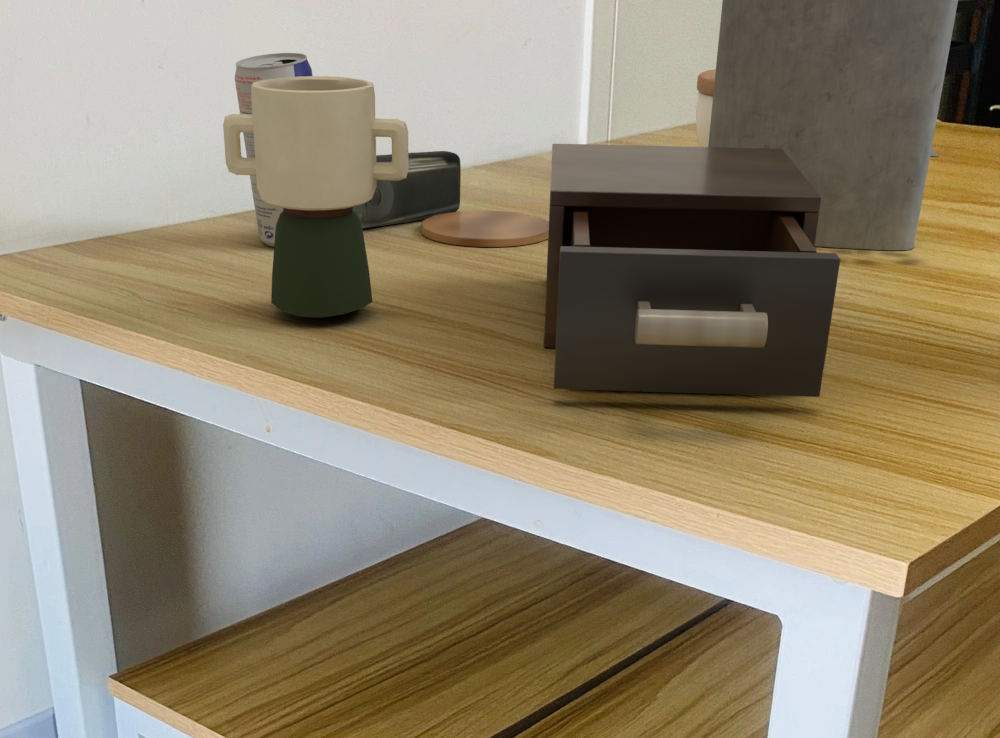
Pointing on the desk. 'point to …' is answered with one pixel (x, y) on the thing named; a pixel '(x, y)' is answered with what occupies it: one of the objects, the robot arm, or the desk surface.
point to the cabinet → (668, 190)
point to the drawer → (692, 303)
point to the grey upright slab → (839, 103)
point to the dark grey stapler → (415, 191)
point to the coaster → (485, 228)
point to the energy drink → (244, 78)
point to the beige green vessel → (317, 184)
